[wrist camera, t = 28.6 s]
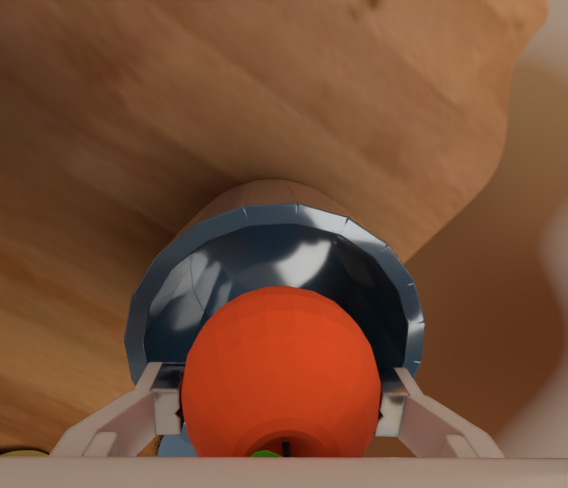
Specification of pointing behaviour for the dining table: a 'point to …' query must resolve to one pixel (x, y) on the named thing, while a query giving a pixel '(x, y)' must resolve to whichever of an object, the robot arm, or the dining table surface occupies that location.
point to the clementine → (280, 379)
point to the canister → (273, 274)
